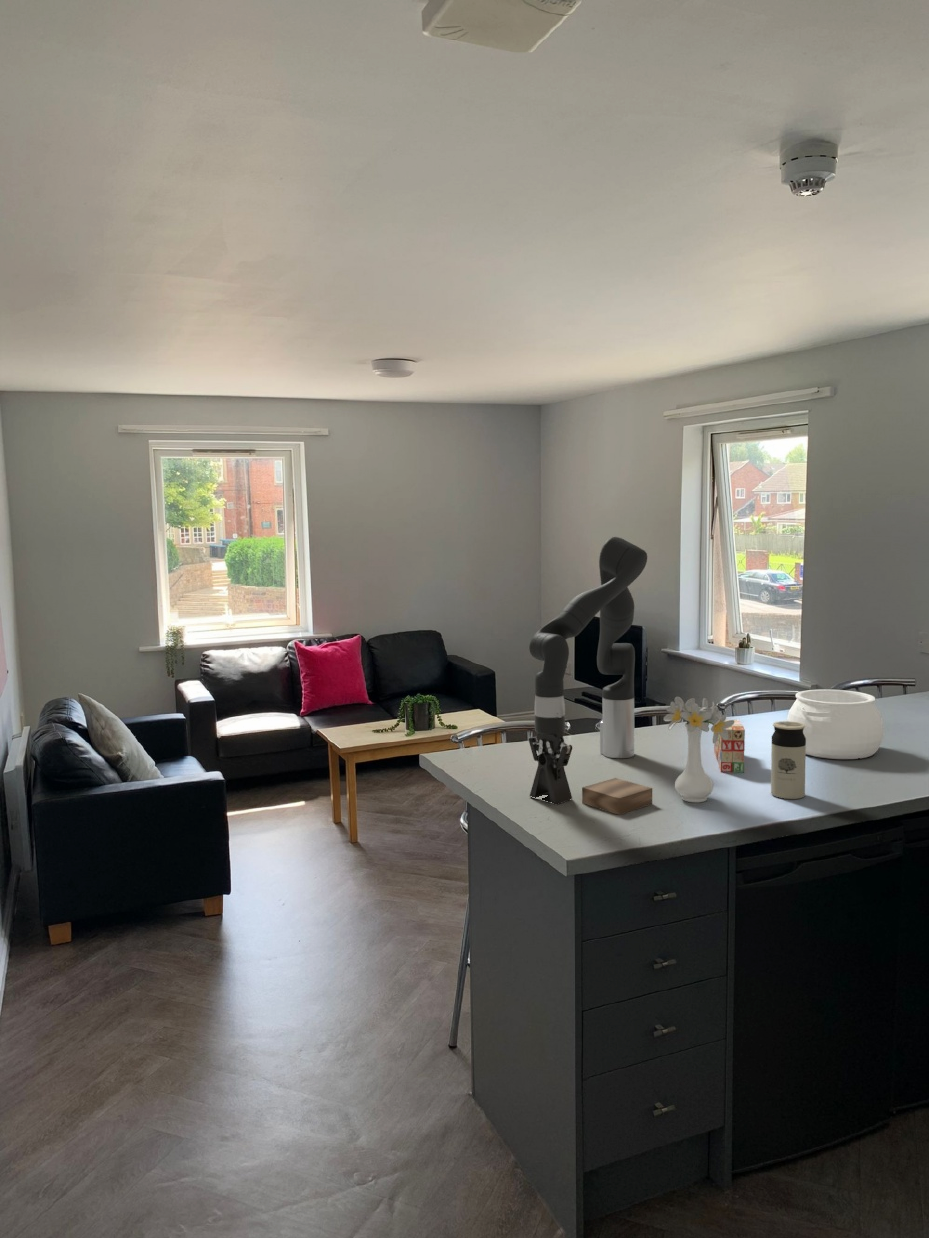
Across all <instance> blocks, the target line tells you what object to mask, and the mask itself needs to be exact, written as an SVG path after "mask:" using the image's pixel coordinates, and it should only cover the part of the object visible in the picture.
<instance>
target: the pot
mask: <svg viewBox="0 0 929 1238" xmlns="http://www.w3.org/2000/svg"><path fill="white" fill-rule="evenodd" d="M795 698H796V700H795V701H794V703H793V704H792V705H791V707H790V708H789V711H788V713H787V714H788V715H787V719H786V721H792V722H799V723H802V724H804V725H805V727H804V729H803V734H804V736H805V738H806V755H808V756H811V757H815V758H820V759H821V758H822V759H830V760H859V759H858V758H860V759H865V758H868V757H871V756H874V755H875V753H877V751H878V750H879V748H880V746H881V745H882V743H883V738H884V731H885V730H884V729H885V728H884V721H883V719H882V715H881V713H880V711H879V709H878V707H877V706H876V704H875V701H876V697H875V695H872V694H868V693H865V692H860V691H854V690H843V689H809V690H808V689H807V690H802V691H799V692H796V693H795Z"/></svg>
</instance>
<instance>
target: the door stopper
mask: <svg viewBox="0 0 929 1238" xmlns="http://www.w3.org/2000/svg"><path fill="white" fill-rule="evenodd" d="M554 755H557V753H556V754H554ZM537 756H538V755H537ZM537 763H538V764H537V769H536V771H535V775H534V777H533V778H534V779H533V782H532V785H531V790H530V793H529V797H530V796H532V797H535V798H536V797H539V796H542V795H548V796H547V797H545V798H542V800H545V801H548V802H552V803H554V804H553V805H555V804H557V805H559V804H562V803H565V802H567V800H568V801H571V800H572V799H573V795H572V792H571V789H570V785H569V781H568V777H567V774H566V771H565V766H563V767H561V780H559V781H556V777H555V775H554V774H553V770H552V768H553V767H552V762H551V759H550V757H549V753H546V752H545V753H542V754H539V756H538V761H537ZM556 763H557V758H556ZM570 799H571V800H570ZM564 801H565V802H564ZM561 802H562V803H561ZM558 803H559V804H558Z"/></svg>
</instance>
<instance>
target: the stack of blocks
mask: <svg viewBox="0 0 929 1238" xmlns="http://www.w3.org/2000/svg"><path fill="white" fill-rule="evenodd" d="M729 720H734V724H733V725H732V726H731V727H729V728H726V729H725V730H726V731H727V732H728V735H729V737H728V739H727V740H724V739H722V737H721V736H720V735H719V734H718V735H719V738H718V740H717V742H716V743H714V744H713V745H714V752H713V753H714V755H715V756H714V757H715V759H716V761H717V765H718V768H719V770H720V773H737V774H739V773H740V774H744V773H745V750H746V749H745V747H746V746H745V744H746V743H745V739H746V737H745V736H746V729H745V728H744V725H743V723H742V722H741V720H740V719H738V718H737V719H736V718H735V719H731V718H730V719H729V718H728V719H727V718H726V720H725V721H729ZM725 721H723V722H725Z"/></svg>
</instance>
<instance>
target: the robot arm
mask: <svg viewBox="0 0 929 1238" xmlns="http://www.w3.org/2000/svg"><path fill="white" fill-rule="evenodd" d="M647 562H648V553H647V551H646V550H644V549H642V548H641V547H639V546H637V545H635V544H633V543H632V542H630V541H627V540H625V539H624V538H622V537H618V536H612V537H610V538H608V539H607V540H606V541H605V542H604V544H603V545H602V547H601V550H600V554H599V559H598V567H599V576H600V577H599V578H600V586H599V585H598V586H597V587H594V588H591V589H589V590H585V591H583V592H582V593H579V594H577V595H576V596H574V597H573V598H572V599H571V600H569V602H568V604H566V606H565V607H564V608H563V609H562V610H561V612H559V614H558V615H557V616H556V617H555V618H553V619H552V620H550V621H548V622H547V623H546V624H545V625H543V627H541V628H540V629H539V630H538V631H536V632H535V633H534V635H533V636H532V638H531V639H530V642H529V644H528V645H529V653H530V655H531V656H532V657H533V658H534V659H536V660H538V661H542V662H543V661H544V662H543V668H542V670H541V671H539V672H537V673H536V675H535V680H534V685H535V687H534V688H535V690H534V691H535V694H534V695H535V697H534V731H535V733H536V736H533V737H529V738H528V743H529V747H530V750H531V753H532V757H533V761H535V762H538V756H539V754H542V753H545V752H546V753H549V757H550V759H551V762H552V767H553V768H552V770H553V774H554V775H555V777H556V781H559V780H561V767H563V766H564V767H566V766H568V765H569V761H570V757H571V754H572V750H573V745H571V744H567V743H566V742H565V738H564V732H565V731H566V706H565V705H566V703H565V696H564V694H565V693H564V678H565V674H566V670H567V666H568V663H569V662H568V661H569V655H570V654H569V653H570V650H569V649H570V648H569V644H568V642H567V639H571V638H575V637H577V636H579V634H580V633H581V632H582V631H583V630H584V629H585V628H586V627H587V626H588V624H589V623H590V622H591V621H592V620H593V619H594V617H595V616H597V614H598V613H599V640H598V646H597V653H596V654H597V655H596V665H597V669H598V671H599V673H600V674H602V675H607V676H610V675H612V676H617V675H620V676H621V675H622V677H621V678H620V679H619V680H618V681H616V682H614V683H611V684H608V685H606V686H604V687H603V688H602V690H601V691H602V699H601V700H602V702H601V703H602V705H601V706H602V721H600V723H599V739H600V740H599V747H600V749H599V753H600V754H602V755H603V756H604V757H606V758H612V759H627V758H632V757H634V756H635V666H636V665H635V664H636V663H635V662H636V651H635V647H634V646H633V644H632V643H628V642H620V643H619V642H616V641H618V640H619V639H620V638H622V637H623V635H624V634H625V633H627V632H628V631H629V629H630V628H631V626H632V625H633V622H634V615H635V614H634V613H635V600H634V598H633V595H632V593H631V591H630V589H629V586H630V585H631V584H632V583H634V582H635V580H637V579H638V578H639V577H640V575H641V574H642V573H643V571H644V569H645V567H646V565H647ZM556 753H557V755H554V754H556ZM556 758H557V763H556Z"/></svg>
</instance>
